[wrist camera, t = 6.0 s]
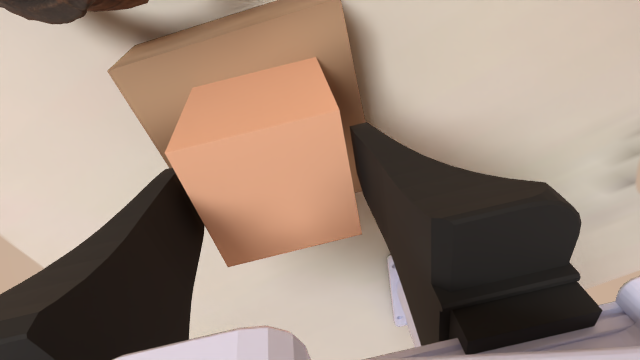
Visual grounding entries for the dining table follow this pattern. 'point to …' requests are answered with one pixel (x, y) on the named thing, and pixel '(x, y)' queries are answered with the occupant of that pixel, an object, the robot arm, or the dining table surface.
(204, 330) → the dining table surface
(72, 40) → the dining table surface
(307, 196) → the terracotta block
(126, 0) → the pottery mug
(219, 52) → the light tan wooden block
